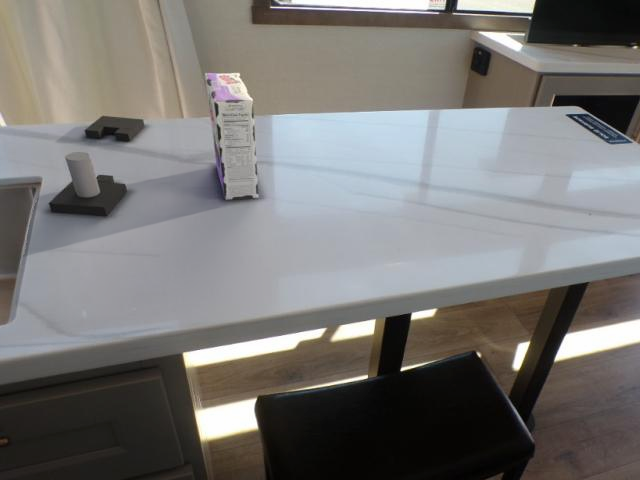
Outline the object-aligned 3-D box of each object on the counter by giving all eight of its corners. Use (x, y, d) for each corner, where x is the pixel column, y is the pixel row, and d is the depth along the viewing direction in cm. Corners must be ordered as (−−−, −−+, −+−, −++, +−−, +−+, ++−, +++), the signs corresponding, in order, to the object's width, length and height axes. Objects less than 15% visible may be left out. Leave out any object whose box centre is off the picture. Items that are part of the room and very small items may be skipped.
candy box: (215, 165, 95) (203, 71, 85) (248, 163, 97) (240, 71, 87) (224, 201, 85) (212, 99, 75) (260, 198, 87) (253, 98, 77)
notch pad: (86, 137, 99) (84, 129, 98) (104, 122, 105) (102, 115, 104) (129, 141, 100) (128, 133, 99) (144, 126, 106) (143, 119, 105)
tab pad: (51, 212, 78) (34, 164, 73) (82, 181, 86) (69, 137, 81) (106, 216, 78) (94, 169, 74) (133, 185, 86) (122, 141, 82)
